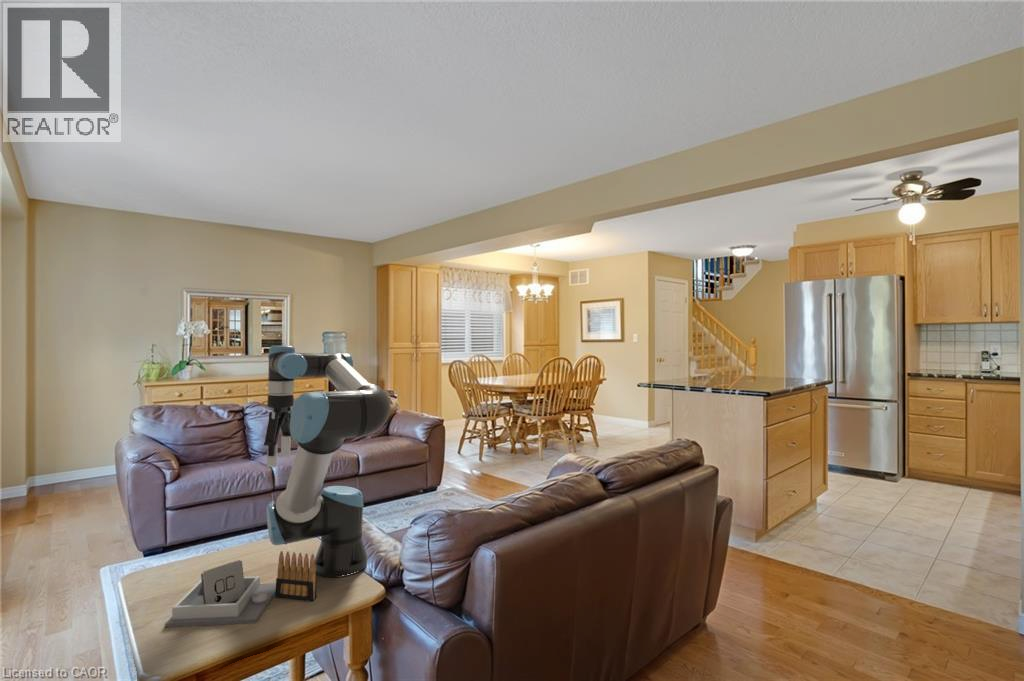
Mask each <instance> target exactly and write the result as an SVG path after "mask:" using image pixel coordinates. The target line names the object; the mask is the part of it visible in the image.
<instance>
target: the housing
mask: <svg viewBox="0 0 1024 681" xmlns="http://www.w3.org/2000/svg"><path fill="white" fill-rule="evenodd" d="M244 584H245V592H244V594H243V595H242V596H241V597H240V599H238V600H235V601H233V602H230V603H227V604H205V605H204V601H203V591H202V580H201V579H200V580H199V581H197V582H196V584H194V585H193V587H192V588H190V590H188V591H187V592H186V593H185V595H184V596H182V598H180V599H179V600H178V601H177V603H175V604H174V606H172V607H171V608H172V609H171V610H172V614H171V617H170V618H169V619H168V620H167V621H166V622H165V623H164V628H171V627H172V628H174V627H192V626H193V627H194V626H195V627H196V626H215V625H216V626H217V625H233V624H235V625H236V624H238V625H239V624H255V623H257V622H258V621H259V619H260V617H261V616H262V614H263V612H264V611H265V610H266V608H267V607H268V605H269V604H270V602H271V601H272V599H273V597H275V591H276V582H274V583H273V582H272V583H271V582H270V583H261V576H257V575H256V576H244ZM216 600H217V598H216Z"/></svg>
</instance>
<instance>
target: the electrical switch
mask: <svg viewBox="0 0 1024 681" xmlns="http://www.w3.org/2000/svg"><path fill="white" fill-rule="evenodd" d="M244 577H245V576H244V568H243V561H242V560H241V559H237V560H234V561H232V562H231V561H230V562H227V563H225V564H221V565H219V566H215V567H213V568H209V569H206V570H204V571H203V572H202V573H200V580H202V591H203V601H204V605H205V604H227V603H230V602H233V601H235V600H238V599H240V597H241V596H242V595H243V594H244V592H245V584H244ZM216 598H217V600H216Z"/></svg>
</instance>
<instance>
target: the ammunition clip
mask: <svg viewBox="0 0 1024 681" xmlns="http://www.w3.org/2000/svg"><path fill="white" fill-rule="evenodd" d="M315 558H316V557H315V554H314V553H312V554H311V557H310V560H309V555H308V553H307V552H306V553H305V555H304V559H303V554H302V552H299V554H298V557H297V555H296V552H295V551H293V553H292V556H291V555H290V552H289V551H286V554H285V557H284V551H283V550H280V552H279V558H278V563H277V564H278V565H277V577H276V578H275V583H276V591H275V594H274V598H275V599H282V600H293V601H298V602H299V601H302V602H309V603H310V602H311V603H312V602H314V601H315V600H316V599H317V578H316V574H317V573H316V570H315Z"/></svg>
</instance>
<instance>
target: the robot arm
mask: <svg viewBox="0 0 1024 681" xmlns="http://www.w3.org/2000/svg"><path fill="white" fill-rule="evenodd" d="M295 348H296V347H294V346H292V345H271V346H270V347H269V351H268V355H267V356H268V357H267V358H268V374H267V375H268V378H267V380H268V383H266V387H267V393H268V395H267V407H269V408H272V410H273V411H269V413H268V422H267V428H266V433H265V439H264V442H263V446H267V447H266V448H267V449H266V467H269V468H272V467H273V468H274V467H277V466H278V444H277V442H278V439H279V434H280V431H281V434H282V436H281V440H280V441H281V442H280V443H281V444H280V457H291V443H292V442H291V441H292V440H293V441H294V442H295V443H296V444H297V450H296V453H295V456H294V460H293V463H292V467H291V470H290V474H289V477H288V481H287V485H286V488H285V490H283V491H282V492H280V494H279V495H278V496H277V499H276V501H274V500H272V501H271V502H268V503H267V504H266V507H265V511H266V515H265V516H266V524H267V525H266V526H267V531H268V536H269V537H268V538H269V541H270V543H271V545H273V546H282V545H287V544H292V543H297V542H301V541H305V540H311V539H315V538H320V537H321V538H320V543H319V547H318V549H317V552H316V555H315V557H314V558H315V570H316V573H315V574H317V575H318V576H321V577H326V578H338V577H337V576H342V575H347V574H351V573H354V572H357V571H360V572H362V571H363V570H364V569H366V567H367V566H368V553H367V551H366V547H365V544H364V540H363V519H364V518H363V516H364V515H363V513H364V500H363V499H364V496H363V493H362V491H361V490H359V489H358V488H356V487H351V486H348V485H347V486H346V485H332V486H330V485H329V486H326V487H324V488H323V489H322V487H323V484H324V482H325V478H326V475H327V472H328V470H329V466H330V464H331V460H332V457H333V454H334V453H336V452H337V451H339V450H340V449H341V448H342V446H343V444H344V441H345V439H350V438H351V439H352V438H360V437H361V438H362V437H367V436H370V435H373V434H374V433H376V432H378V431H379V430H380V429H381V428H382V427H383V426H384V425H385V423H386V422H387V421H388V418H389V417H390V413H391V401H390V398H389V396H388V394H387V392H386V391H384V389H382V388H381V387H380V386H379V385H376V384H373V383H371V382H369V381H368V380H367V379H366V378H365V377H364V376H363V375H361V374H360V372H358V371H357V370H356V369H355V368H354V361H353V359H352V356H351V354H349V353H344V352H343V353H342V352H296V349H295ZM298 378H327V379H328V381H330V383H331V384H332V385H333V386H334V387H335V388H336V389H337V390H335V391H322V390H316V391H311V392H303V393H302V394H299V396H298V397H296V398H295V397H294V393H295V379H298ZM294 398H295V399H294ZM294 400H295V401H294ZM291 438H292V439H291ZM320 492H321V494H320ZM366 565H367V566H366Z"/></svg>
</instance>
